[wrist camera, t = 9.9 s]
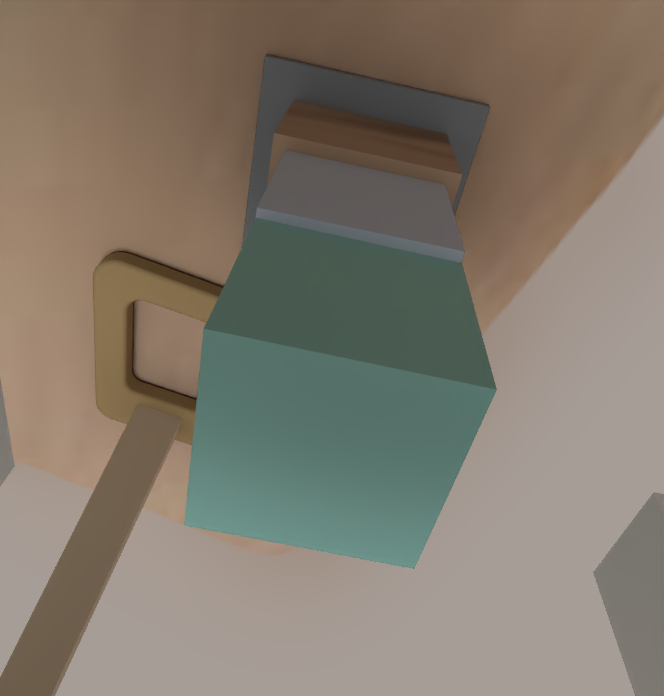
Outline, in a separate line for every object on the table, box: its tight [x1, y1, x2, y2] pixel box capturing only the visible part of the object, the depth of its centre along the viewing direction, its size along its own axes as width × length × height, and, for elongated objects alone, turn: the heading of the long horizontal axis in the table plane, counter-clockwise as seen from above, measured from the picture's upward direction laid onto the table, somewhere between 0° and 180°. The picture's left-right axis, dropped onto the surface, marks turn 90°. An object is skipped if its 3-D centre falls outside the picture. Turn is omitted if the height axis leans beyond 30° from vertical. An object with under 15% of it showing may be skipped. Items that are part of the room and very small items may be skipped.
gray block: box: [255, 150, 465, 263], centre depth 21 cm, size 6×6×6 cm
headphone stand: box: [0, 252, 223, 696], centre depth 26 cm, size 10×11×22 cm
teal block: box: [184, 218, 496, 569], centre depth 16 cm, size 6×6×6 cm
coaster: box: [242, 54, 490, 247], centre depth 28 cm, size 10×10×1 cm
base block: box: [266, 100, 462, 206], centre depth 26 cm, size 7×7×6 cm
